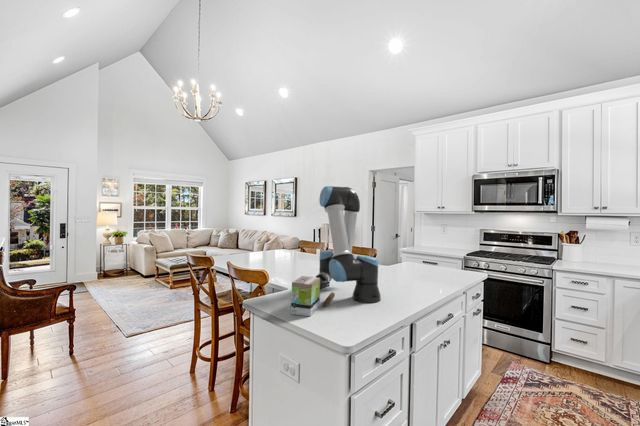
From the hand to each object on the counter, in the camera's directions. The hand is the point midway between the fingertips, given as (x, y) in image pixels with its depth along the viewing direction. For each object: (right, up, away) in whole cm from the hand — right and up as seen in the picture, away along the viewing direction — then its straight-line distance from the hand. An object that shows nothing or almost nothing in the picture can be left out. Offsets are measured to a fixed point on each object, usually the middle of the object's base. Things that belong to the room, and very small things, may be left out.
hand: (310, 290), depth 153 cm
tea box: (-2, -8, -7) cm, 11 cm away
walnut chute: (+2, -7, +9) cm, 12 cm away
